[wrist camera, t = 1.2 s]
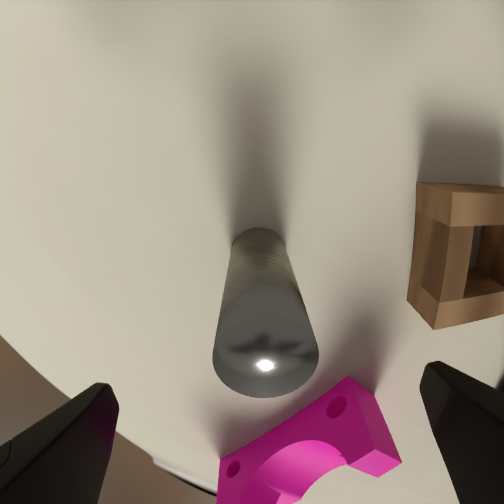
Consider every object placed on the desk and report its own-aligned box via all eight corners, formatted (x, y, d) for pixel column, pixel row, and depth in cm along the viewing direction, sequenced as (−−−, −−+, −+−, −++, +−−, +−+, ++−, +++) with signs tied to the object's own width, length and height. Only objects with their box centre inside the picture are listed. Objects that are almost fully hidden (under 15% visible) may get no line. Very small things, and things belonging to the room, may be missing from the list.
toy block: (266, 478, 27) (269, 537, 19) (220, 458, 25) (214, 522, 18) (387, 405, 23) (416, 469, 16) (347, 374, 22) (375, 449, 15)
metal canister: (284, 226, 18) (320, 310, 9) (286, 278, 19) (315, 393, 10) (228, 229, 18) (205, 318, 9) (233, 281, 19) (219, 399, 10)
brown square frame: (501, 186, 17) (537, 196, 13) (487, 288, 20) (517, 310, 16) (416, 182, 17) (452, 192, 13) (406, 300, 20) (433, 329, 16)
